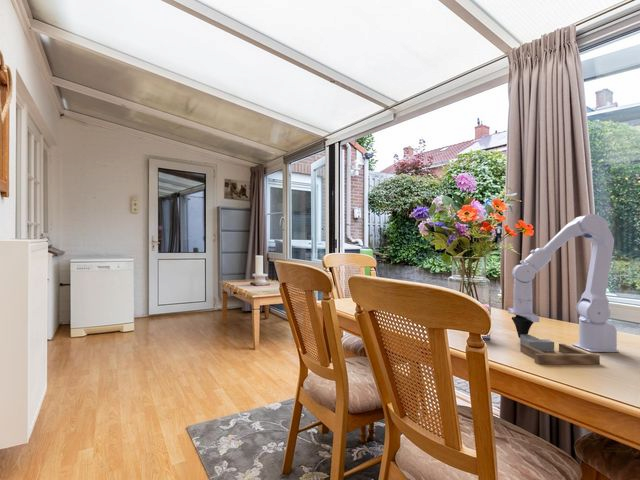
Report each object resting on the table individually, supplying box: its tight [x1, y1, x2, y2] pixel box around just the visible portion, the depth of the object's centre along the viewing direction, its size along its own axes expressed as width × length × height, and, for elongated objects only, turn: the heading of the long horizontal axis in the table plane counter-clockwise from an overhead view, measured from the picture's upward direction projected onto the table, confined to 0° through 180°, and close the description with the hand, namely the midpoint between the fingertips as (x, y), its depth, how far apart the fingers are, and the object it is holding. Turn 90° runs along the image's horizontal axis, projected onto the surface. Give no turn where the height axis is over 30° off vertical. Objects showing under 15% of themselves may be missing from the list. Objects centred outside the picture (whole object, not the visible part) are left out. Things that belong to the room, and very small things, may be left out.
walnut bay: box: [519, 343, 601, 365], centre depth 103 cm, size 18×12×2 cm, turn 91°
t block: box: [519, 333, 555, 352], centre depth 114 cm, size 8×9×3 cm
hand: (522, 338), depth 119 cm, fingers closed
